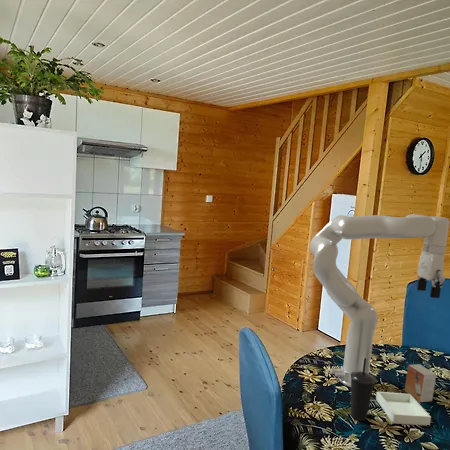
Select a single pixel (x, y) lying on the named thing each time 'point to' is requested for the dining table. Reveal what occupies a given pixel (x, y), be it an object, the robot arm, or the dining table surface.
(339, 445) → the dining table surface
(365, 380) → the drinking cup
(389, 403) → the tray
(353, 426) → the dining table surface
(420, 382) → the small box
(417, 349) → the dining table surface
